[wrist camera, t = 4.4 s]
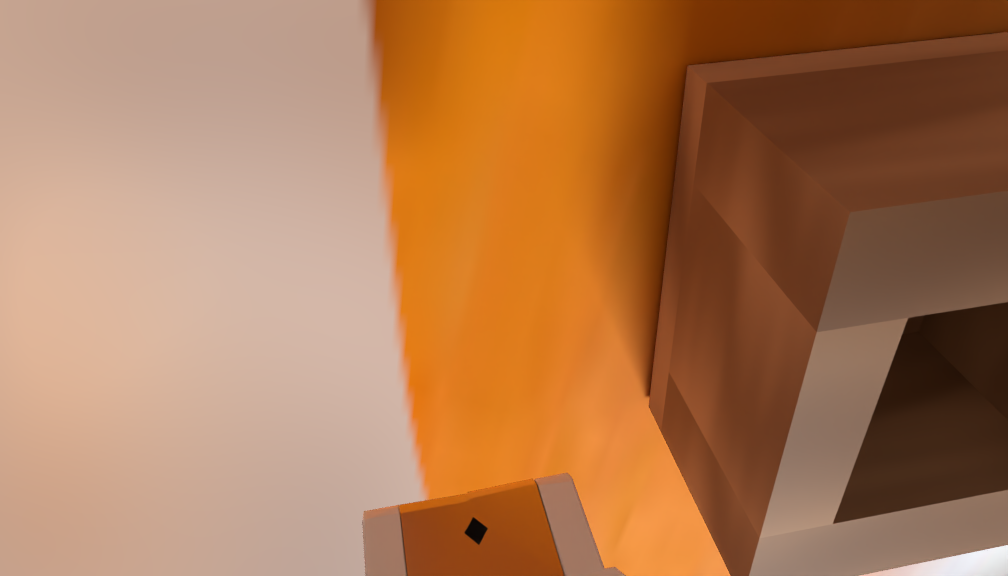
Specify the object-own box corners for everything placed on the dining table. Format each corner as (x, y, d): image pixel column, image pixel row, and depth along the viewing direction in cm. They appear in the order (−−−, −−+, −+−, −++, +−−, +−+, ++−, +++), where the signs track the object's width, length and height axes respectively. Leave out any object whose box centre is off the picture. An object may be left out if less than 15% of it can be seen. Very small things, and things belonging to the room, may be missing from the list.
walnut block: (687, 65, 13) (850, 211, 9) (1058, 26, 14) (1354, 143, 10) (648, 406, 17) (742, 599, 13) (924, 359, 18) (1087, 528, 14)
